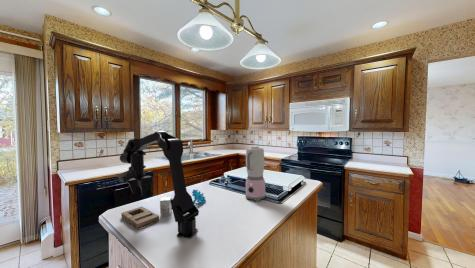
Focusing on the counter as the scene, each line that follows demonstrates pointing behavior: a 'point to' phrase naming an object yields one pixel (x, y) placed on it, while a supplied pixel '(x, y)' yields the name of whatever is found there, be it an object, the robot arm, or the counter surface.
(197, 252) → the counter surface
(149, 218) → the socket block
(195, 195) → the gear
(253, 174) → the blender
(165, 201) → the square bit
